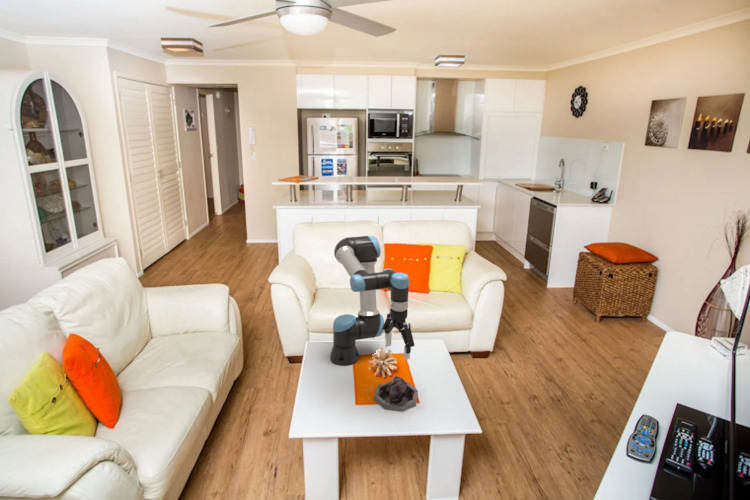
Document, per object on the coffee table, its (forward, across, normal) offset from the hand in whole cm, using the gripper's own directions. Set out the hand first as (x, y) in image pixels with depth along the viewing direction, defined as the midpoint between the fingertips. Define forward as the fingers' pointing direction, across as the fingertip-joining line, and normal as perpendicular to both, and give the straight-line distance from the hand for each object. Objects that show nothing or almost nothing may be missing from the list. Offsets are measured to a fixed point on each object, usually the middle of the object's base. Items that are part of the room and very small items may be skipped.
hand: (397, 352), depth 197 cm
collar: (+23, +1, 0) cm, 23 cm away
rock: (+22, +2, 0) cm, 22 cm away
